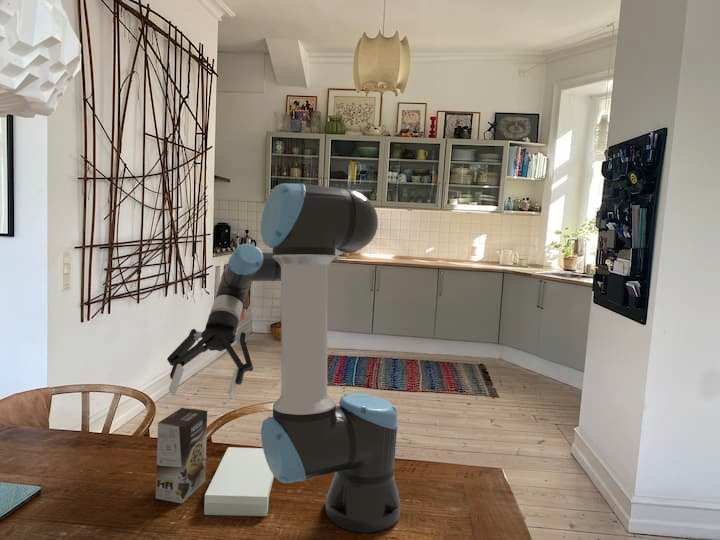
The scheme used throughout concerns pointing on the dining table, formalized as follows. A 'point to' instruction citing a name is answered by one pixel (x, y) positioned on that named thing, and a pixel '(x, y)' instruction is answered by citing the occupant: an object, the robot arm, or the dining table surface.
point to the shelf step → (240, 484)
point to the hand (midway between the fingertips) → (201, 394)
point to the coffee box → (181, 454)
